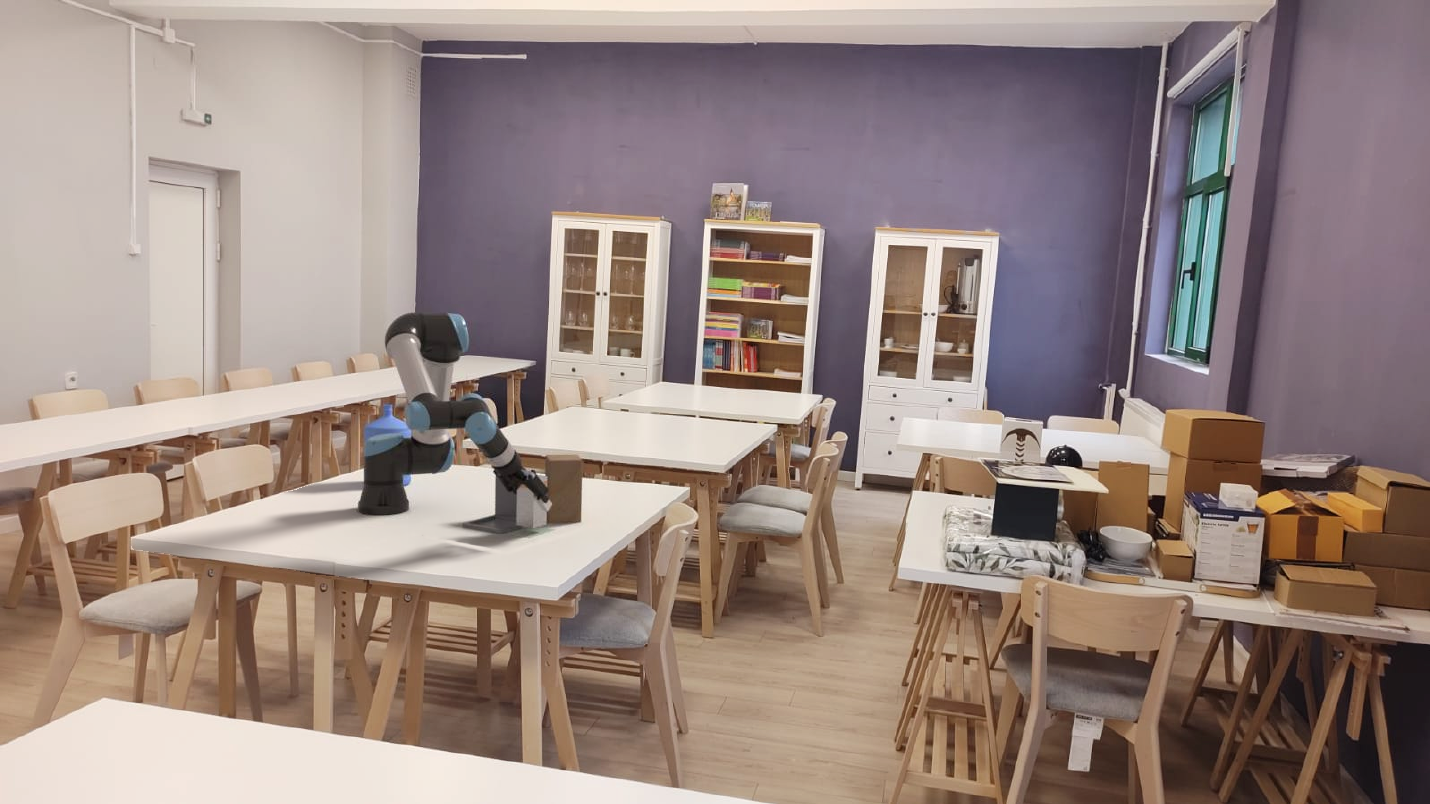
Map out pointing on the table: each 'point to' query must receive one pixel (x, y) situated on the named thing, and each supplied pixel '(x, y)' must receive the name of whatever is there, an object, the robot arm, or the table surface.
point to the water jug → (388, 430)
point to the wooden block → (564, 488)
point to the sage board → (531, 532)
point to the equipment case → (499, 512)
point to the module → (530, 507)
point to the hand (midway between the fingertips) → (539, 505)
